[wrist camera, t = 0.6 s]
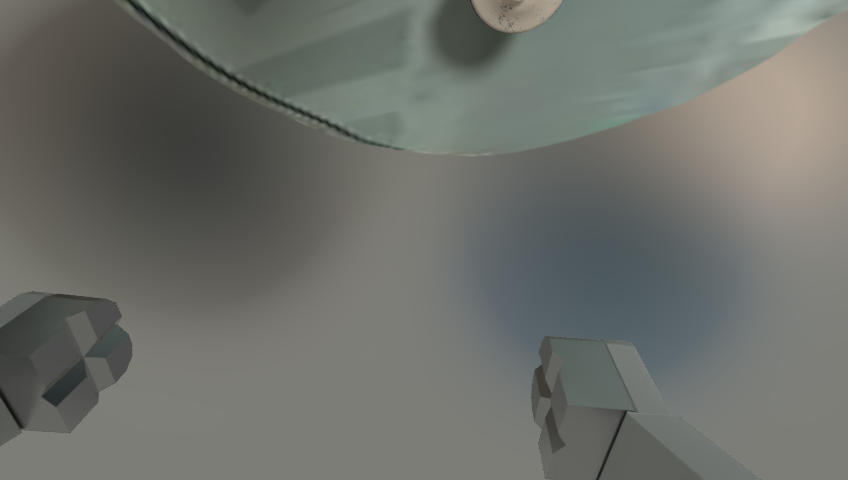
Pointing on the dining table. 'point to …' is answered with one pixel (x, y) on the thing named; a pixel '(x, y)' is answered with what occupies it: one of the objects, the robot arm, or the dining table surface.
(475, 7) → the teacup with lid
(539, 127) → the dining table surface
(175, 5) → the dining table surface
